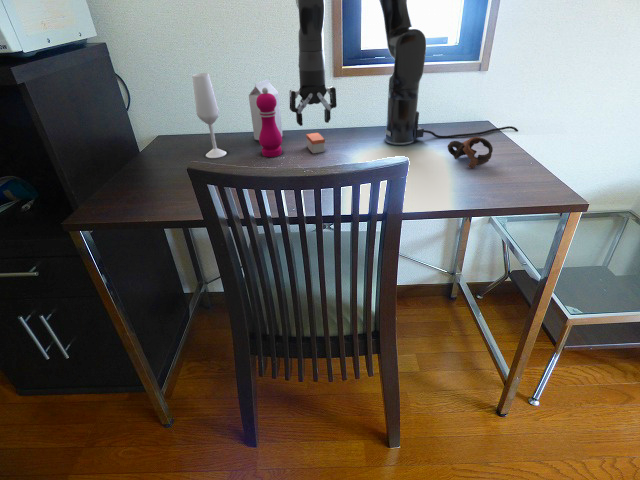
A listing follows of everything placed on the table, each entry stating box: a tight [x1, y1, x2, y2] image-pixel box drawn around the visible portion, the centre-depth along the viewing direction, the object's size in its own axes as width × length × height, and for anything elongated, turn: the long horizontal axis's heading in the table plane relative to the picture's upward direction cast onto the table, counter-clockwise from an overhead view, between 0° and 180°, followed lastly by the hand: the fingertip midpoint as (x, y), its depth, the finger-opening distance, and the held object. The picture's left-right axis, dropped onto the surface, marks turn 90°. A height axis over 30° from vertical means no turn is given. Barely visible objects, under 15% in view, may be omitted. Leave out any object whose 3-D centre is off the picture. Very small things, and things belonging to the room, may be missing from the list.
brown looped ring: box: [447, 136, 494, 169], centre depth 109 cm, size 12×10×8 cm
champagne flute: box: [191, 72, 228, 159], centre depth 118 cm, size 7×7×24 cm
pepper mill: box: [256, 88, 283, 158], centre depth 117 cm, size 7×7×20 cm
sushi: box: [305, 132, 326, 154], centre depth 123 cm, size 4×7×4 cm, turn 18°
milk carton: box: [248, 78, 283, 141], centre depth 130 cm, size 7×7×19 cm
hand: (313, 123), depth 120 cm, fingers open, 8 cm apart
